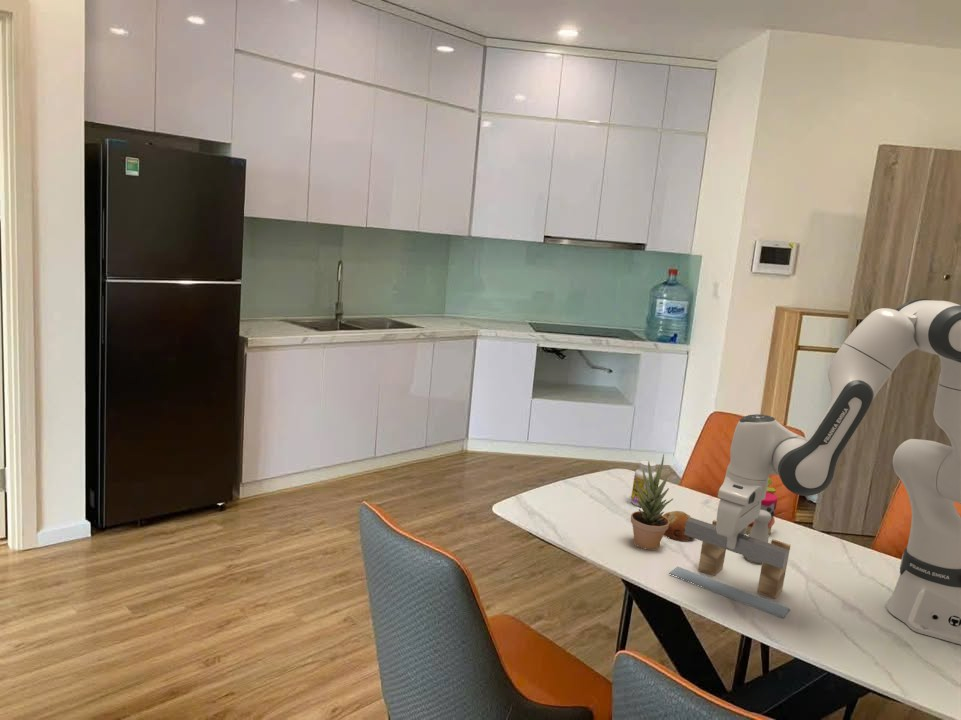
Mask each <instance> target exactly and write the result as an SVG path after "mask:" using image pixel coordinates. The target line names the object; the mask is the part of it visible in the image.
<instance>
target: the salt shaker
mask: <svg viewBox="0 0 961 720" xmlns="http://www.w3.org/2000/svg"><path fill="white" fill-rule="evenodd" d="M770 521H771V514H770V513H769V512H767V511H765V510H760V513H759V516H758V518H757V519H755V522H754V524H753V526H752V529H751V531H750V534H749V535H748V536H749V537H752V538H755V539H758V540H761V541H764V542H767V543H769V536H768V523H769V522H770ZM745 560H747V561H748V562H751V563H755V564H757V565H758V564H762V562H761V561H758V560H755V559H753V558H750V557H747V556H745Z"/></svg>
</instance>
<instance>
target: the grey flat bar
mask: <svg viewBox="0 0 961 720" xmlns="http://www.w3.org/2000/svg"><path fill="white" fill-rule="evenodd" d="M669 574H671V575H674V576H677V577H679V578H682V579H684V580H687V581H689V582H692V583H694V584H693V585H695V584H696V585H695V586H697V585H699V586H698V587H700V586H702V587H704V588H703V589H705V588H706V589H705V590H708V589H709V590H708V591H710V590H711V592H713V591H714V593H716V594H719V595H721V596H724V597H727V598H729V599H731V600H734V601H737V602H740V603H742V604H744V605H748V606H749V607H753V608H755V609H758V610H761V611H763V612H766V613H768V614H771V615H773V616H775V617H776V616H777V617H779V618H782V619H785V617H786V616H787V615H788V614H789V612H790V611H791V607H790V606H789V607H788V606H786V605H783V604H780V603H778V602H775V601H772V600H770V599H767V598H764V597H762V596H759V595H757V594H753V593H751V592H748V591H746V590H743V589H739V588H737V587H736V586H735V587H734V586H731V585H729V584H726V583H723V582H720V581H719V580H716V579H713V578H710V577H708V576H705V575H703V574H700V573H696V572H694V571H692V570H689V569H685V568H683V567H680V566H676V567H675V568H673V569H672V570H671V571H669V572H668V575H669ZM671 575H670V576H671ZM674 576H673V577H674ZM679 578H678V579H679ZM684 580H683V581H684ZM687 581H686V582H687ZM689 582H688V583H689ZM692 583H691V584H692ZM702 587H701V588H702Z"/></svg>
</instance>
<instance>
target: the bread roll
mask: <svg viewBox="0 0 961 720" xmlns="http://www.w3.org/2000/svg"><path fill="white" fill-rule="evenodd" d="M662 516H664V517H666V518H667V519H668V520H669V527H668V529H667V530H666V531H665V533H664V535H665V537H666V536H667V537H666V538H668V537H669V538H668V539H671V540H675V541H678V540H679V541H680V542H690V541H693V540H694V539H695V538H692V537H689V536H686V535H684V532H685V526H686V521H687V520H688V519H690V518H692V516H690V515H689V514H688V513H687V512H684V511H680V510H673V511H669V512H664V513H663V514H662ZM664 535H663V536H664Z"/></svg>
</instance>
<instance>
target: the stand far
mask: <svg viewBox="0 0 961 720" xmlns="http://www.w3.org/2000/svg"><path fill="white" fill-rule="evenodd" d="M716 521H717V520H712V523H711V524H713V525H716ZM701 542H702V544H701V550H700V555H699V562H698V568H697V571H698V570H699V571H698V572H701V571H702V572H701V573H704V574H706V573H707V574H706V575H710V576H712V577H715V576H716V575H718V574H719V573H720V572H721V571H722V570H723V569H724V563H725V558H726V551H727V549H724V548H721V547H718V546H715V545H712V544H709V543H706V542H703V541H701Z"/></svg>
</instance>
